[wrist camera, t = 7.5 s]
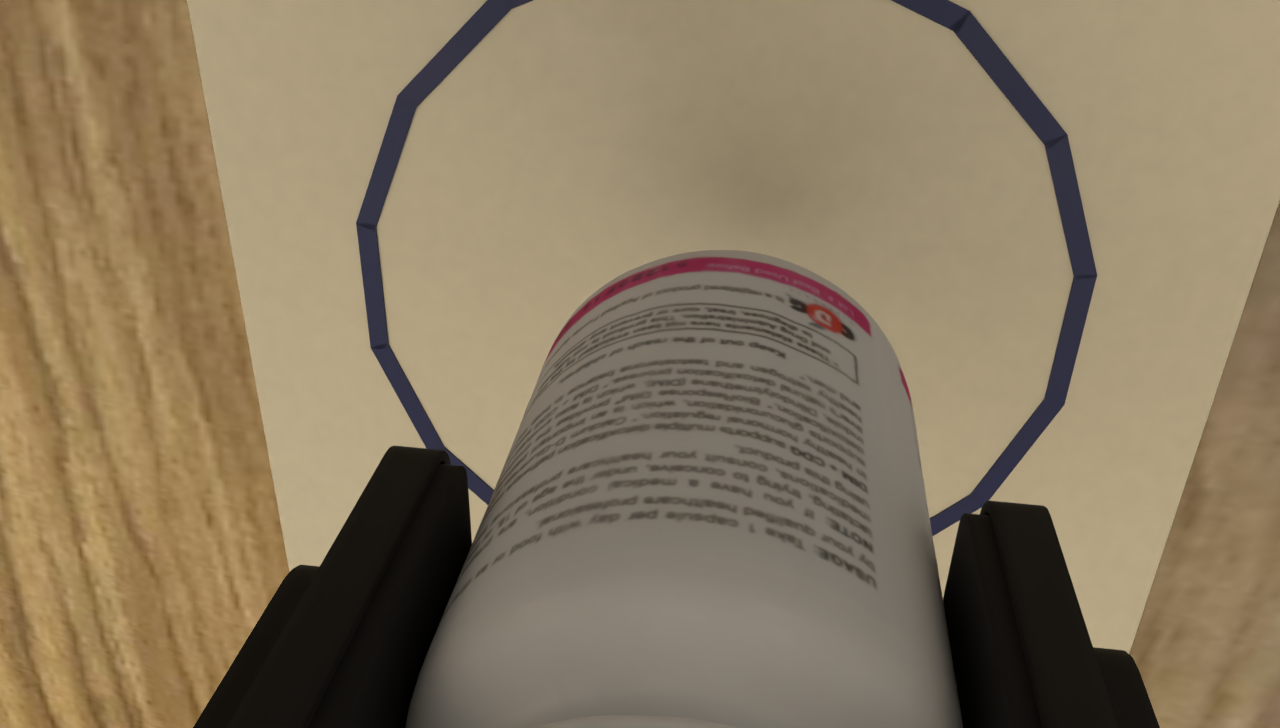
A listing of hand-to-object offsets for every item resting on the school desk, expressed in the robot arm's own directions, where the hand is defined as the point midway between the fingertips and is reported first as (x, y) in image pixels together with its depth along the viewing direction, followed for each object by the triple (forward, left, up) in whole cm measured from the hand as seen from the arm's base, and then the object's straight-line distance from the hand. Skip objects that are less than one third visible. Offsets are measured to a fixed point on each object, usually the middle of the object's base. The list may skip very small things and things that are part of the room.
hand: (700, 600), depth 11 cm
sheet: (+3, -1, -11) cm, 12 cm away
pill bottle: (0, 0, -4) cm, 4 cm away
